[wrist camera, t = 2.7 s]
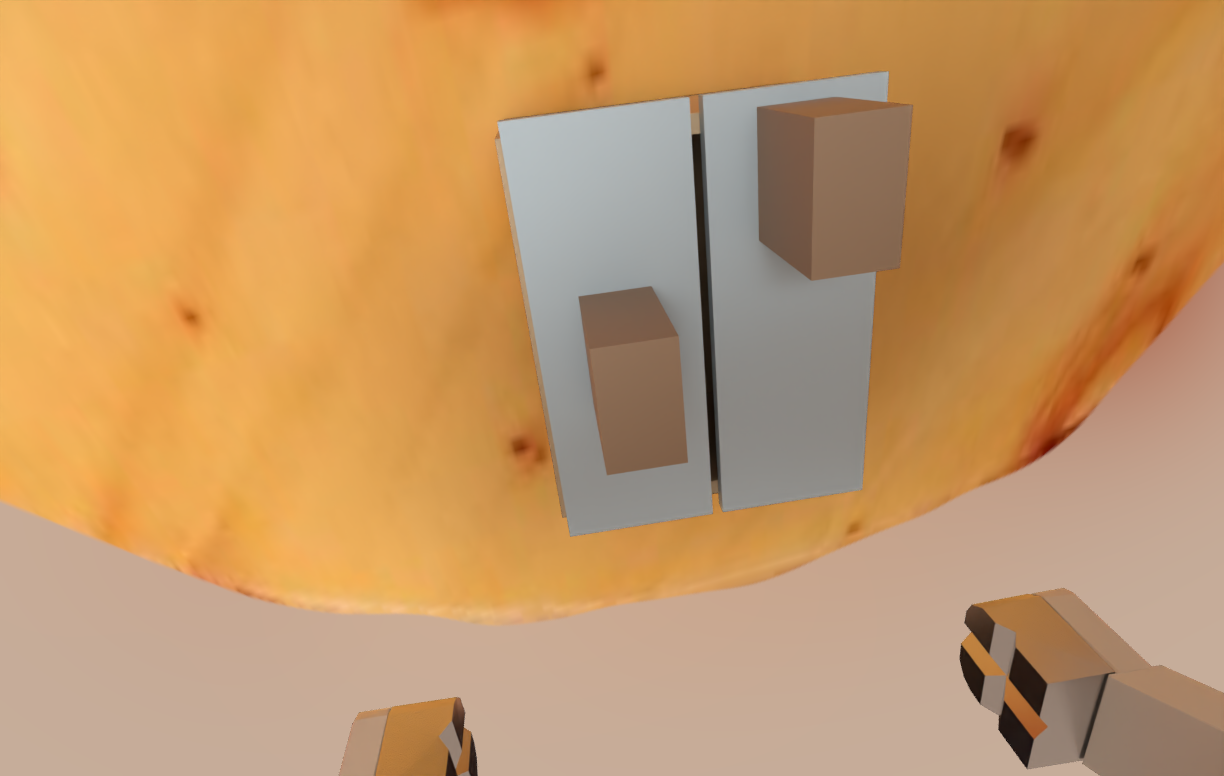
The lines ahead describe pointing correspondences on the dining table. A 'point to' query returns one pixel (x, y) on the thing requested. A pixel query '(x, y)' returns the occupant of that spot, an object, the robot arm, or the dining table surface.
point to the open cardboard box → (703, 292)
